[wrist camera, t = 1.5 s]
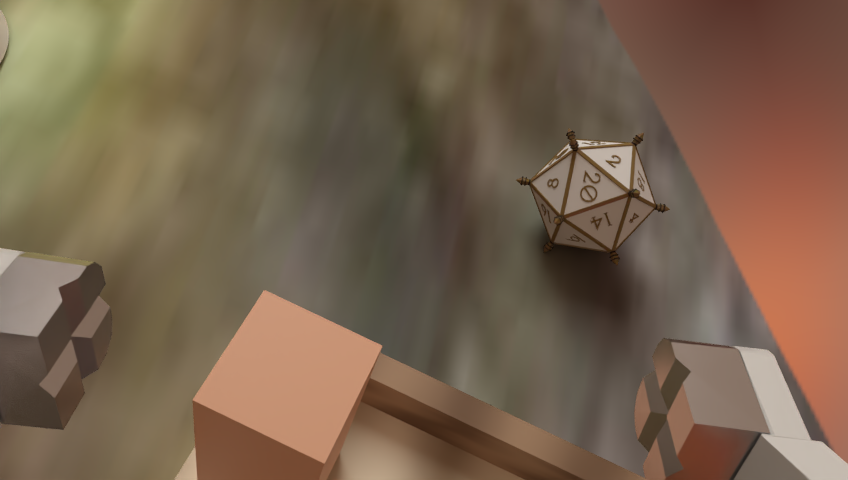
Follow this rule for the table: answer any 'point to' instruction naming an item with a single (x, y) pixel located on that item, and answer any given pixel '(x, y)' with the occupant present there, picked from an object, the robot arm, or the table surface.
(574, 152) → the game die
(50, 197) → the table surface
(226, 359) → the terracotta block
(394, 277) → the table surface
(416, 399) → the board
